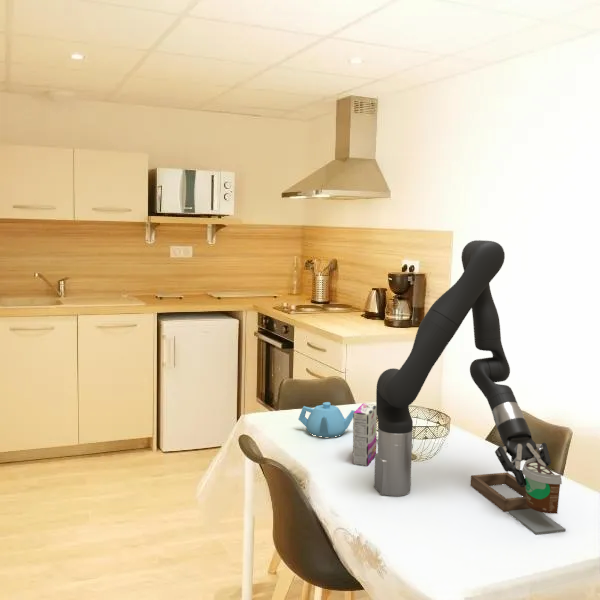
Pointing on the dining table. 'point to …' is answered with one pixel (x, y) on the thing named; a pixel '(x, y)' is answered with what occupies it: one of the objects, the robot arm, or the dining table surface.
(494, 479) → the walnut frame
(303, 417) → the teapot
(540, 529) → the rubber mat
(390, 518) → the dining table surface
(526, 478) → the food container
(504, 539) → the dining table surface
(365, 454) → the candy bar box
